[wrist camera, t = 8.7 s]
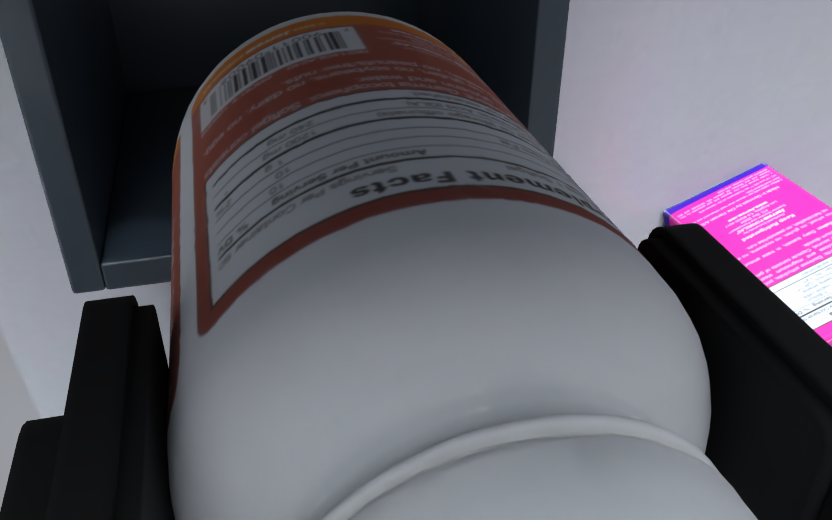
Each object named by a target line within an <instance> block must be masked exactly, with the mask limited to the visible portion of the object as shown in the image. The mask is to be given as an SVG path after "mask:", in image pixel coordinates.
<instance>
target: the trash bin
mask: <svg viewBox="0 0 832 520" xmlns="http://www.w3.org/2000/svg"><path fill="white" fill-rule="evenodd" d="M569 1H570V0H0V37H1V41H2V44H3V48H4V51H5V55H6V58H7V62H8V65H9V69H10V72H11V76H12V79H13V83H14V87H15V90H16V94H17V97H18V101H19V104H20V108H21V111H22V115H23V118H24V122H25V125H26V129H27V132H28V136H29V140H30V143H31V147H32V150H33V154H34V157H35V161H36V164H37V168H38V171H39V175H40V178H41V182H42V185H43V189H44V192H45V196H46V200H47V203H48V207H49V210H50V214H51V217H52V221H53V224H54V228H55V231H56V235H57V238H58V242H59V245H60V249H61V252H62V256H63V260H64V263H65V267H66V270H67V274H68V277H69V281H70V284H71V288H72V291H73V292H74V293H83V292H91V291H99V290H103V289H105V286H106V288H107V289H116V288H124V287H132V286H140V285H148V284H155V283H163V282H171V263H172V172H173V162H174V154H175V149H176V144H177V139H178V135H179V132H180V128H181V125H182V122H183V119H184V117H185V114H186V112H187V109H188V107H189V105H190V103H191V101H192V100H193V98H194V96H195V94H196V93H197V91H198V89H199V88H200V86H201V85H202V84H203V82H204V81H205V80H206V78H207V77H208V76H209V75H210V73H211V72H212V71H213V70H214V68H215V67H216V66H217V65H218V64H219V63H220V62H221V61H222V60H223V59H224V58H225V57H226V56H228V55H229V54H230V53H231V52H232V51H234V50H235V49H236V48H238V47H239V46H240V45H241V44H243V43H244V42H246V41H247V40H249V39H251V38H252V37H254V36H256V35H257V34H259V33H261V32H263V31H265V30H267V29H269V28H271V27H273V26H276V25H278V24H280V23H283V22H286V21H289V20H292V19H295V18H299V17H303V16H308V15H314V14H319V13H329V12H363V13H370V14H377V15H382V16H387V17H391V18H394V19H397V20H400V21H403V22H405V23H408V24H410V25H413V26H415V27H417V28H419V29H421V30H423V31H425V32H427V33H429V34H430V35H432V36H433V37H435V38H436V39H438V40H440V41H441V42H442V43H443V44H445V45H446V46H447V47H449V48H450V49H451V50H452V51H454V52H455V53H456V54H457V55H458V56H459V57H461V58H462V59H463V60H464V61H465V62H466V63H467V64H468V65H469V66H470V67H471V68H472V70H473V71H474V72H475V73H476V74H477V75H478V76H479V77H480V78H481V79H482V81H483V82H484V83H485V84H486V85H487V86H488V87H489V88H490V89H491V90H492V91H493V92H494V93H495V94H496V96H497V97H498V98H499V99H500V100H501V101H502V102H503V103H504V105H505V106H506V107H507V108H508V109H509V110H510V111H511V112H512V113H513V114H514V115H515V117H516V118H517V119H518V120H519V121H520V122H521V123H522V124H523V125H524V127H525V128H526V129H527V130H528V131H529V132H530V133H531V134H532V135H533V136H534V137H535V138H536V140H537V141H538V142H539V143H540V144H541V145H542V146H543V147H544V149H545V150H546V151H547V152H548V153H549V154H550V155H551V156H552V157H553V152H554V142H555V133H556V123H557V114H558V104H559V95H560V86H561V76H562V67H563V57H564V48H565V38H566V29H567V20H568V10H569Z"/></svg>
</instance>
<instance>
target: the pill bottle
mask: <svg viewBox="0 0 832 520" xmlns="http://www.w3.org/2000/svg"><path fill="white" fill-rule="evenodd" d="M710 420H711V394H710V380H709V373H708V366H707V362H706V358H705V355H704V352H703V348H702V345H701V341H700V338H699V335H698V333H697V331H696V329H695V327H694V325H693V323H692V321H691V319H690V317H689V316H688V314H687V312H686V311H685V309H684V307H683V306H682V304H681V302H680V301H679V299H678V297H677V296H676V294H675V293H674V292H673V290H672V289H671V288H670V287H669V286H668V284H667V283H666V282H665V281H664V280H663V279H662V277H661V276H660V275H659V274H658V273H657V272H656V270H655V269H654V268H653V266H652V265H651V264H650V263H649V261H647V260H646V259H645V257H644V256H643V255H642V254H641V253H640V252H639V250H638V249H637V248H636V247H635V246H634V244H633V243H632V242H631V241H630V240H629V239H628V238H627V237H625V236H624V235H623V233H622V232H621V231H620V230H619V229H618V228H617V227H616V226H615V225H614V224H613V223H612V222H611V220H610V219H609V218H608V217H607V216H606V215H605V214H604V213H603V212H602V211H601V210H600V209H599V208H598V207H597V205H596V204H595V203H594V202H593V201H592V200H591V199H590V198H589V197H588V196H587V194H586V193H585V192H584V191H583V190H582V189H581V188H580V187H579V186H578V185H577V184H576V183H575V182H574V180H573V179H572V178H571V176H570V175H568V174H567V173H566V172H565V171H564V170H563V168H562V167H561V166H560V165H559V164H558V163H557V162H556V161H555V160H554V158H553V157H552V156H551V155H550V154H549V153H548V152H547V151H546V150H545V149H544V147H543V146H542V145H541V144H540V143H539V142H538V141H537V140H536V138H535V137H534V136H533V135H532V134H531V133H530V132H529V131H528V130H527V129H526V128H525V127H524V125H523V124H522V123H521V122H520V121H519V120H518V119H517V118H516V117H515V115H514V114H513V113H512V112H511V111H510V110H509V109H508V108H507V107H506V106H505V105H504V103H503V102H502V101H501V100H500V99H499V98H498V97H497V96H496V94H495V93H494V92H493V91H492V90H491V89H490V88H489V87H488V86H487V85H486V84H485V83H484V82H483V81H482V79H481V78H480V77H479V76H478V75H477V74H476V73H475V72H474V71H473V70H472V68H471V67H470V66H469V65H468V64H467V63H466V62H465V61H464V60H463V59H462V58H461V57H459V56H458V55H457V54H456V53H455V52H454V51H452V50H451V49H450V48H449V47H447V46H446V45H445V44H443V43H442V42H441V41H440V40H438V39H436V38H435V37H433V36H432V35H430V34H429V33H427V32H425V31H423V30H421V29H419V28H417V27H415V26H413V25H410V24H408V23H405V22H403V21H400V20H397V19H394V18H391V17H387V16H382V15H377V14H370V13H363V12H329V13H319V14H314V15H308V16H303V17H299V18H295V19H292V20H289V21H286V22H283V23H280V24H278V25H276V26H273V27H271V28H269V29H267V30H265V31H263V32H261V33H259V34H257V35H256V36H254V37H252V38H251V39H249V40H247V41H246V42H244V43H243V44H241V45H240V46H239V47H238V48H236V49H235V50H234V51H232V52H231V53H230V54H229V55H228V56H226V57H225V58H224V59H223V60H222V61H221V62H220V63H219V64H218V65H217V66H216V67H215V68H214V70H213V71H212V72H211V73H210V75H209V76H208V77H207V78H206V80H205V81H204V82H203V84H202V85H201V86H200V88H199V89H198V91H197V93H196V94H195V96H194V98H193V100H192V101H191V103H190V105H189V107H188V109H187V112H186V114H185V117H184V119H183V122H182V125H181V128H180V132H179V135H178V139H177V144H176V149H175V154H174V162H173V172H172V263H171V319H170V352H169V384H168V417H167V455H168V472H169V487H170V495H171V502H172V507H173V512H174V516H175V520H758V519H757V518H756V517H755V516H754V514H753V513H752V512H751V511H750V509H749V508H748V507H747V506H746V504H745V503H744V502H743V500H742V499H741V498H740V496H739V495H738V493H737V492H736V491H735V489H734V488H733V487H732V486H731V485H730V483H729V482H728V481H727V480H726V479H725V478H724V477H723V476H722V475H721V474H720V472H719V471H718V470H717V468H716V467H715V466H714V464H713V463H712V462H711V460H710V459H709V458H708V457H707V456H706V455H705V451H706V446H707V440H708V435H709V430H710Z"/></svg>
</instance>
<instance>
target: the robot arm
mask: <svg viewBox="0 0 832 520" xmlns="http://www.w3.org/2000/svg"><path fill="white" fill-rule="evenodd" d="M638 250H639V252H640V253H641V254H642V255H643V256H644V257H645V259H646V260H647V261H649V263H650V264H651V265H652V266H653V268H654V269H655V270H656V272H657V273H658V274H659V275H660V276H661V277H662V279H663V280H664V281H665V282H666V283H667V284H668V286H669V287H670V288H671V289H672V290H673V292H674V293H675V294H676V296H677V297H678V299H679V301H680V302H681V304H682V306H683V307H684V309H685V311H686V312H687V314H688V316H689V317H690V319H691V321H692V323H693V325H694V327H695V329H696V331H697V333H698V335H699V338H700V341H701V345H702V348H703V352H704V355H705V358H706V362H707V366H708V373H709V380H710V394H711V420H710V430H709V435H708V440H707V446H706V451H705V455H706V456H707V457H708V458H709V459H710V460H711V462H712V463H713V464H714V466H715V467H716V468H717V470H718V471H719V472H720V474H721V475H722V476H723V477H724V478H725V479H726V480H727V481H728V482H729V483H730V485H731V486H732V487H733V488H734V489H735V491H736V492H737V493H738V495H739V496H740V498H741V499H742V500H743V502H744V503H745V504H746V506H747V507H748V508H749V509H750V511H751V512H752V513H753V514H754V516H755V517H756V518H757V519H758V520H832V346H830V345H829V344H828V343H827V342H826V341H825V340H824V339H823V338H822V337H821V336H820V335H819V334H818V333H816V332H815V331H814V330H813V329H812V328H811V327H810V326H809V325H808V324H807V323H806V322H805V321H804V320H802V319H801V318H800V317H799V316H798V315H797V314H796V313H795V312H794V311H793V310H792V309H791V308H790V307H788V306H787V305H786V304H785V303H784V302H783V301H782V300H781V299H780V298H779V297H778V296H777V295H776V294H774V293H773V292H772V291H771V290H770V289H769V288H768V287H767V286H766V285H765V284H764V283H763V282H762V281H760V280H759V279H758V278H757V277H756V276H755V275H754V274H753V273H752V272H751V271H750V270H749V269H748V268H746V267H745V266H744V265H743V264H742V263H741V262H740V261H739V260H738V259H737V258H736V257H735V256H734V255H732V254H731V253H730V252H729V251H728V250H727V249H726V248H725V247H724V246H723V245H722V244H721V243H720V242H718V241H717V240H716V239H715V238H714V237H713V236H712V235H711V234H710V233H709V232H708V231H707V230H706V229H704V228H703V227H702V226H701V225H699V224H697V223H687V224H680V225H672V226H664V227H657V228H655V229H653V230H652V232H651V233H650V235H649V237H648V239H645V240H643V241H641V243H640V244H639V247H638ZM168 384H169V368H168V363H167V359H166V354H165V349H164V345H163V340H162V335H161V331H160V326H159V322H158V317H157V313H156V309H155V306H154V305H147V306H139V307H138V303H137V300H136V298H135V296H134V295H132V296H124V297H116V298H109V299H101V300H93V301H87V302H85V303H84V307H83V311H82V317H81V322H80V328H79V334H78V339H77V345H76V350H75V356H74V361H73V367H72V373H71V378H70V384H69V389H68V395H67V400H66V406H65V412H64V415H63V416H57V417H50V418H44V419H38V420H31V421H27V422H26V423H25V424H24V425H23V426H22V428H21V431H20V433H19V436H18V441H17V444H16V449H15V453H14V457H13V461H12V465H11V469H10V474H9V478H8V482H7V486H6V490H5V494H4V498H3V503H2V507H1V511H0V520H175V516H174V512H173V507H172V502H171V495H170V487H169V472H168V455H167V417H168Z"/></svg>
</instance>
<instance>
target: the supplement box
mask: <svg viewBox="0 0 832 520" xmlns="http://www.w3.org/2000/svg"><path fill="white" fill-rule="evenodd" d="M664 220H665V224H666V226H672V225H680V224H687V223H697V224H699V225H701V226H702V227H703V228H704V229H706V230H707V231H708V232H709V233H710V234H711V235H712V236H713V237H714V238H715V239H716V240H717V241H718V242H720V243H721V244H722V245H723V246H724V247H725V248H726V249H727V250H728V251H729V252H730V253H731V254H732V255H734V256H735V257H736V258H737V259H738V260H739V261H740V262H741V263H742V264H743V265H744V266H745V267H746V268H748V269H749V270H750V271H751V272H752V273H753V274H754V275H755V276H756V277H757V278H758V279H759V280H760V281H762V282H763V283H764V284H765V285H766V286H767V287H768V288H769V289H770V290H771V291H772V292H773V293H774V294H776V295H777V296H778V297H779V298H780V299H781V300H782V301H783V302H784V303H785V304H786V305H787V306H788V307H790V308H791V309H792V310H793V311H794V312H795V313H796V314H797V315H798V316H799V317H800V318H801V319H802V320H804V321H805V322H806V323H807V324H808V325H809V326H810V327H811V328H812V329H813V330H814V331H815V332H816V333H818V334H819V335H820V336H821V337H822V338H823V339H824V340H825V341H826V342H827V343H828V344H829V345H830V346H832V208H831V207H829V206H828V205H826V204H825V203H823V202H822V201H820V200H819V199H817V198H816V197H814V196H813V195H811V194H810V193H808V192H807V191H805V190H804V189H802V188H801V187H800V186H798V185H797V184H795V183H793V182H792V181H790V180H789V179H787V178H786V177H784V176H783V175H781V174H780V173H778V172H777V171H775V170H774V169H773V168H771V167H770V166H768V165H767V164H765V163H762V164H760V165H758V166H756V167H754V168H752V169H750V170H748V171H746V172H744V173H742V174H740V175H738V176H735V177H733V178H731V179H729V180H727V181H725V182H723V183H721V184H719V185H717V186H715V187H713V188H711V189H709V190H707V191H705V192H702V193H700V194H698V195H696V196H694V197H692V198H690V199H688V200H686V201H683V202H681V203H679V204H677V205H675V206H672V207H670V208H668V209H666V210H664Z"/></svg>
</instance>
